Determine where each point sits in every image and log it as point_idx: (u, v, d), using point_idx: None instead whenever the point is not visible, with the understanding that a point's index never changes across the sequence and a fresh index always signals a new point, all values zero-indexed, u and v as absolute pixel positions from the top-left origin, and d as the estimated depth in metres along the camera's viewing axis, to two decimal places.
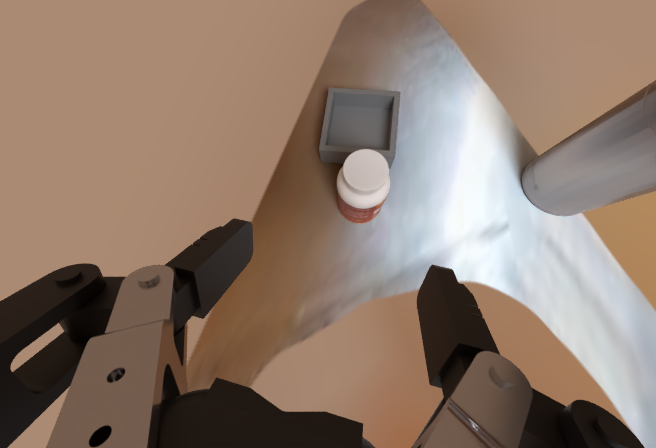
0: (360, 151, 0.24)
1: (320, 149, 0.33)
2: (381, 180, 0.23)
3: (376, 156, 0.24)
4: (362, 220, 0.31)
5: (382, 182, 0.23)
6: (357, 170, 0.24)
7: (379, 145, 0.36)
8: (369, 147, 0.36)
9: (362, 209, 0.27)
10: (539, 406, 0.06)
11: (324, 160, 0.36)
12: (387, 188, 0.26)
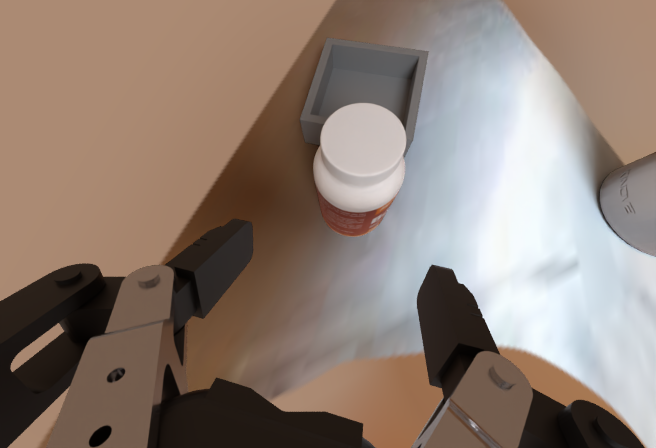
0: (356, 106, 0.13)
1: (302, 119, 0.22)
2: (391, 161, 0.12)
3: (386, 116, 0.13)
4: (353, 232, 0.20)
5: (392, 164, 0.12)
6: (346, 138, 0.13)
7: None
8: None
9: (352, 213, 0.15)
10: (539, 406, 0.06)
11: (309, 139, 0.25)
12: (399, 180, 0.15)
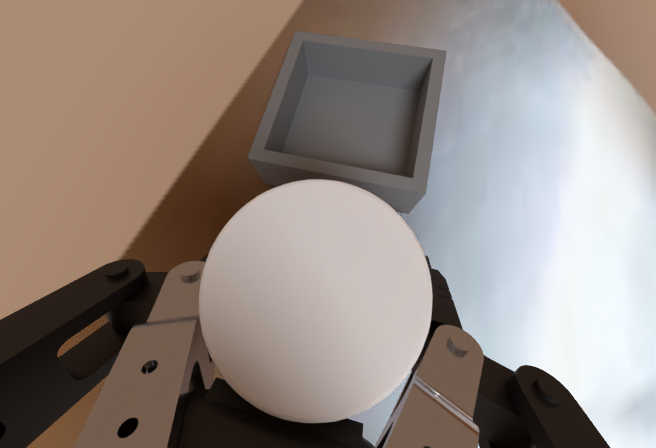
0: (303, 188, 0.05)
1: (251, 158, 0.14)
2: (391, 372, 0.04)
3: (377, 221, 0.05)
4: None
5: (394, 381, 0.04)
6: (269, 286, 0.05)
7: (389, 162, 0.17)
8: (367, 164, 0.17)
9: None
10: (492, 372, 0.06)
11: (269, 181, 0.17)
12: None
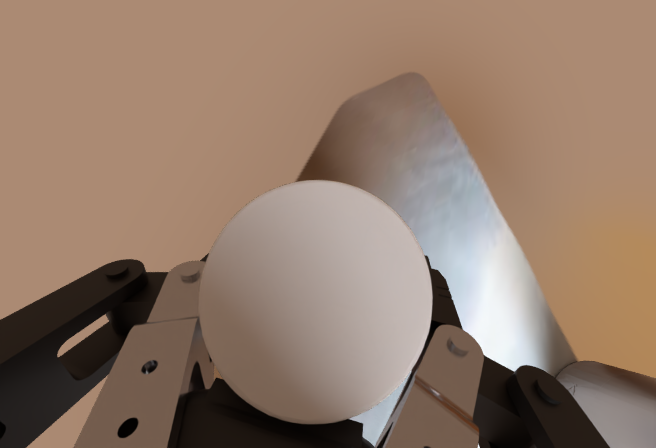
0: (302, 189, 0.05)
1: None
2: (391, 373, 0.04)
3: (377, 222, 0.05)
4: None
5: (394, 382, 0.04)
6: (269, 288, 0.05)
7: None
8: None
9: None
10: (492, 372, 0.06)
11: None
12: None
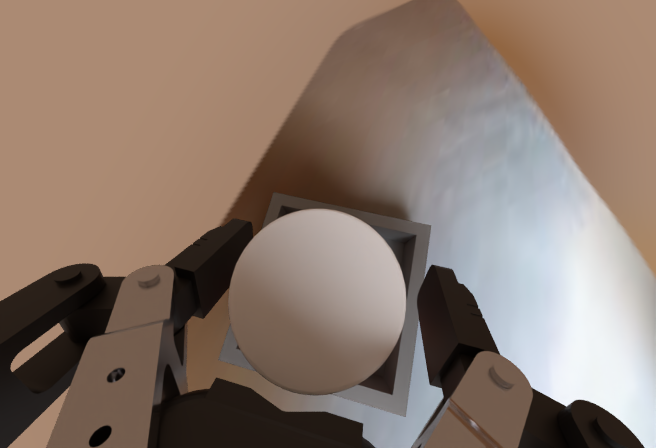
0: (308, 216, 0.07)
1: (222, 359, 0.13)
2: (373, 358, 0.06)
3: (365, 243, 0.06)
4: None
5: (375, 365, 0.06)
6: (282, 294, 0.06)
7: None
8: None
9: None
10: (539, 406, 0.06)
11: None
12: None
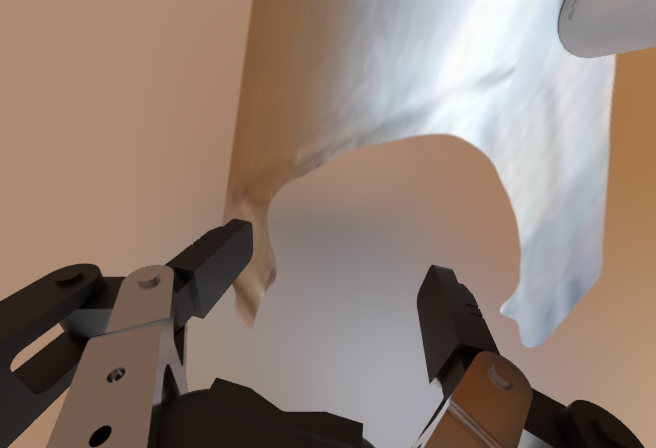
0: None
1: None
2: None
3: None
4: None
5: None
6: None
7: None
8: None
9: None
10: (539, 406, 0.06)
11: None
12: None
